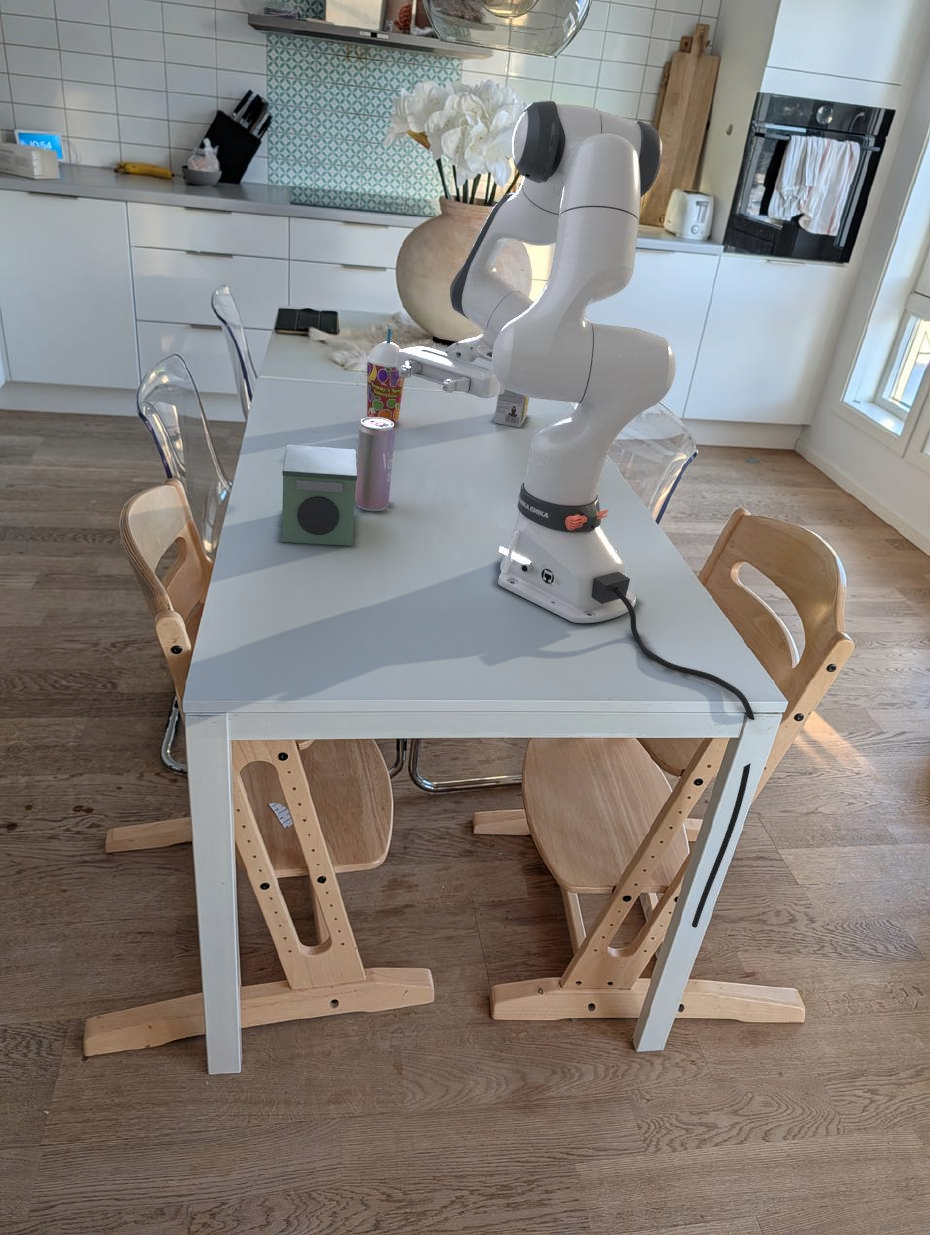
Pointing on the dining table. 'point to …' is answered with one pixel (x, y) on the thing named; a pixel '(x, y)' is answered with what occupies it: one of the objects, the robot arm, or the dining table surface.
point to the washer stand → (318, 495)
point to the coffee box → (511, 408)
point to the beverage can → (374, 463)
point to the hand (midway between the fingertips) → (423, 380)
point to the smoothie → (384, 381)
